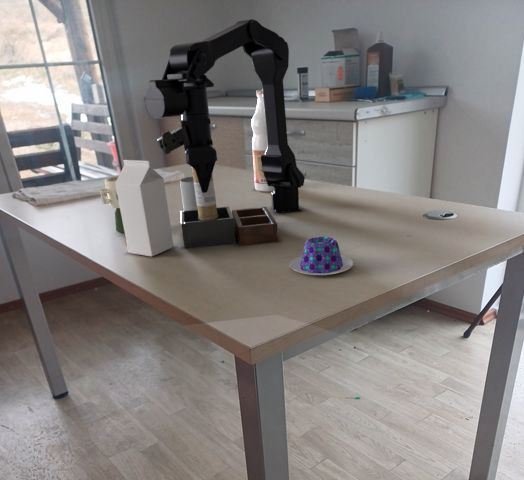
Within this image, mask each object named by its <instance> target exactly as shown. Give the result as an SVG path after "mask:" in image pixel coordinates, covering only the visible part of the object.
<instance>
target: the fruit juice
mask: <svg viewBox="0 0 524 480" xmlns="http://www.w3.org/2000/svg"><path fill="white" fill-rule="evenodd" d="M255 91H256V97H257V104H256V109H255V112H254V114H253V116H252V117H251V121H250V126H251V130H252V133H253V136H252V139H251V151H252V163H253V165H252V167H253V180H254V188H255V191H258V192H273V186H268V185H267V181H266V178H265V176H264V173H263V172H262V162H261V155H265V153H266V150H267V148H268V140H267V130H266V120H265V109H264V99H263V89H257V90H255Z"/></svg>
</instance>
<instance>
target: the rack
mask: <svg viewBox="0 0 524 480" xmlns="http://www.w3.org/2000/svg"><path fill="white" fill-rule="evenodd" d="M231 214H232V216H233V219H234V231H235V236H236V237H237V240H238V244H239V245H240V246H244V245H245V246H246V245H247V246H248V245H256V244H266V243H267V244H268V243H276V242H277V243H278V242H279V230H278V229H279V227H278V222H277V221H276V219H275V217H274V216H273V215H272V213H271V212H270V210H269V209H268V207H267V206H258V207H250V208H249V207H248V208H239V209H231Z"/></svg>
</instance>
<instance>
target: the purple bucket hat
mask: <svg viewBox="0 0 524 480" xmlns="http://www.w3.org/2000/svg"><path fill="white" fill-rule="evenodd" d="M353 265H354V261H353V259H351V258H350V257H348V256H345V255H342V254H341V251H340V246H339V243H338V241H337V240H336V239H334V238H333V237H330V236H315V237H311V238H309V239H307V240H306V242H305V243H304V246H303V251H302V255H301V256H299V257H296V258H294V259H293V260H291V261H290V263H289V267H290V268H291V269H292V270H293V271H295V272H297V273H300V274H304V275H311V276H328V275H329V276H330V275H336V274H339V273H342V272H346V271H348V270H350V269H352V267H353Z"/></svg>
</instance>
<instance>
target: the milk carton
mask: <svg viewBox="0 0 524 480" xmlns="http://www.w3.org/2000/svg"><path fill="white" fill-rule="evenodd" d="M118 176H119V177H118V178H117V180H116V182H115V185H116V190H117V195H118V200H119V206H120V211H121V216H122V221H123V226H124V231H125V234H124V236H125V241H126V247H127V251H128V253H129V254H134V255H139V256H140V255H141V256H147V257H154V256H156V255H158V254H161V253H163V252H165V251H168V250H170V249H173V248H174V239H173V233H172V226H171V218H170V212H169V205H168V199H167V193H166V186H165V179H164V177H163V176H162V175H160V173H158V172H157V171H156V170H155V169H154V168H153V167H151V164H150V160H137V159H135V160H134V159H123V166H122V169H121V171H120V172H119V175H118Z"/></svg>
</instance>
